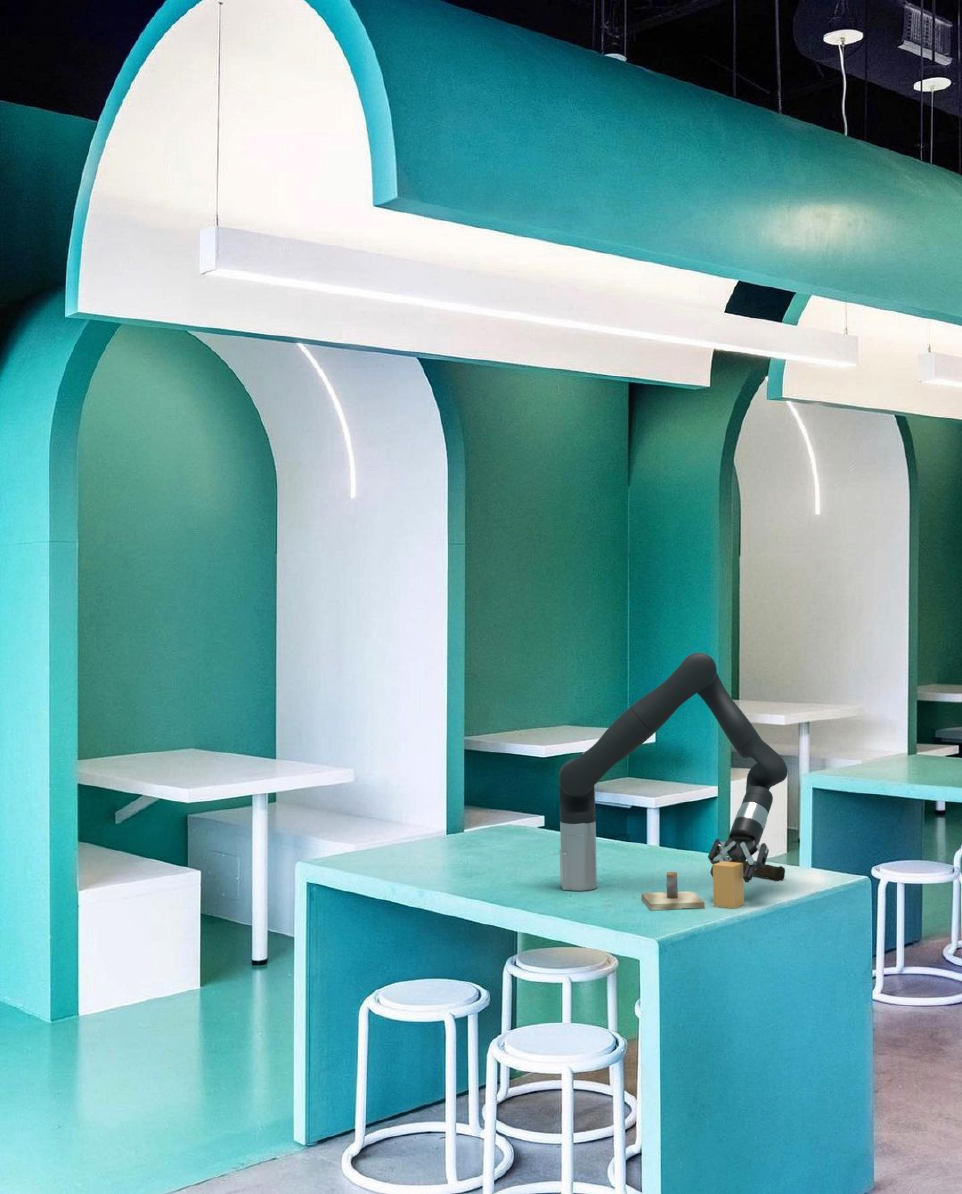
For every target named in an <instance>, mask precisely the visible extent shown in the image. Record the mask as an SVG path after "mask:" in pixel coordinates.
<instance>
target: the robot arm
mask: <svg viewBox="0 0 962 1194" xmlns="http://www.w3.org/2000/svg"><path fill="white" fill-rule="evenodd" d="M696 694H697V695H698V696H699V698H701V699H702V701H704V703H705V705H706V706H707V707H708V709H709V710H710V712H711V713H712V715H713V716H714V718H715V719H716V721H717V722H718V725H719V726H720V728H721V729H722V731H723V733H724V734H725V736H726V738H727V739H728V741H729V742H730V743H731V745H732V747H733V748H734V749H735V750H736V752H737V754H738V755H739V756H740V757H741V758H742V759H749V758H751V759H753V761H755V762H756V763H755V764H753V765H752V766H751V767H750V769H749V771H748V773H747V776H746V783H745V784H746V786H745V793H744V796H743V799H742V802H741V804H740V807H739V809H738V811H737V813H736V815H735V818H734V821H733V823H732V826H731V829H730V832H729V834H728V839H727V840H726V841H721V840H720V839H719V838H716V839H715V840H714V842H713V844H712V845H711V848H710V851H709V853H708V856H707V858H708V860H709V862H710V864H712V865H711V869H710V871H709V873H710V875H711V877H712V878H713V864H716V863H719V862H722V861H726V862H729V861H731V860H741V861H744V860H746V861H748V863H749V865H747V867H746V870H745V873H744V874H743V879H744V883H749V882H751V881H752V879H753V876H754V875H753V874H754V871H755V870H756V869H758V868H760V869H763V868H764V867H765V864H766V863H767V858H768V856H769V855H768V854H769V851H770V849H769V848H768V845H767V844H766V842H762V843H761V844H760V841H761V839H762V837H763V834H764V831H765V828H766V825H767V821H768V816H769V814H770V810H771V807H772V805H773V803H774V802H773V801H774V798H773V797H774V796H773V794H772V792H771V791H770V790H771V788H772V787H774V786H776V785H778V784H781V783H783V782H784V781H785V780H786V779H787V777H788V774H789V773H788V766H787V764H786V762H785V760H784V759H783V757H782V756H780V755H779V754H778V752H776V750H774V749H773V748H772V747H771V746H770V745H769V744H768V743H766V742H765V741H764V740H763V738H761V736H760V735H759V733H758V732H757V730H756V728H754V726H753V724H752V723H751V721H750V720H749V718H747V716H746V715H745V713H744V712H743V711H742V710H741V709H740V708H739V705H737V704H736V702H735V701H734V700H733V698H732V697H731V696H730V694H729V693H728V691H727V689H726V687H724V684H723V682H722V681H721V678H720V676H719V674H718V669H717V664H716V661H715V660H714V659H713V657H711V656H710V655H709V654H707V653H704V652H699V651H698V652H693V653H691V654H688V655H687V656H686V657H685V658H684V659H683V661H682V662H681V663H680V665H679V666H678V667H677V668H676V669H675V670H674V671H673V672H672V673H671V674H670V676H669V677H667V679H666V680H664V681H663V682H662V683H661V684H660V685H658V686H657V687H655V688H654V689H653V690H651V691H649V693H646V694H645V695H643V696H642V697H641V698H639V699H638V700H636V701H635V702H634V703H633V704H632V705H630V707H629V708H627V709H626V710H625V711H623V713H622V714H621V715H619V716H618V717H617V718H616V719H615V720H614V721H613V722H612V723H611V724H610V725H609V727H608V728H607V729H606V730H605V732H604V733H603V734H602V735H601V737H600V738H599V739H598V740H597V741H596V742H595V743H594V744H593V745H592V746H591V747H589V748H588V749H587V750H586V751H584V752H583V753H582V754H581V755H580V756H578V757H576V758H572V759H569V760H567V761H565V762H564V764H563V765H562V766H561V767H560V770H559V773H558V782H559V783H558V784H559V787H558V788H559V827H560V828H559V829H560V830H559V834H560V849H559V869H560V870H559V872H560V873H559V874H560V875H559V879H560V880H559V881H560V887H561V889H562V890H563V891H577V892H578V891H579V892H580V891H591V890H594V889H597V888H598V871H597V870H598V869H597V868H598V867H597V865H598V864H597V863H598V862H597V833H596V831H597V828H596V827H597V826H596V824H597V823H596V794H595V793H596V787H595V786H596V785H597V783H598V782H599V781H600V780H601V779H602V778H603V777H604V776H605V775H606V773H608V771H610V770H611V769H612V768H613V767H614V766H615V765H616V764H617V763H619V762H621V761H622V760H623V759H625V758H626V757H628V756H630V754H632V753H633V752H634V751H636V750H637V749H638V748H639V747H641V745H643V744H644V743H646V742H647V741H648V740H649V739H650V738H651V737H652V736H653V735H654V734H656V733H657V732H658V731H659V730H660V729H661V728H662V727H663V726H664V725H665V723H666V722H668V720H669V719H670V718H671V717H672V716H673V714H675V712H676V711H677V710H678V709H679V708H680V707H681V706H682V705H683V704H684V703H686V701H688V700H689V699H691V698H692V697H693V696H695V695H696ZM757 852H758V853H757ZM756 853H757V858H756V860H755V861H754V858H753V855H755V854H756ZM727 854H728V855H727Z"/></svg>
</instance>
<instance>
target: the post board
mask: <svg viewBox="0 0 962 1194" xmlns="http://www.w3.org/2000/svg"><path fill="white" fill-rule="evenodd" d="M665 876H666V891H662V892H641V900H642V901H643V903H644V904H645V906H647V908H648V909H649V910H650V911H668V910H667V909H677V910H682V909H681V908H704V909H705V908H706V907H705V904H706V903H705V901H704V900H703V899H702V898H701V897H700V896H699V895H698V894H697V893H696V892H694V890H693V891H692V890H691V891H689V890H688V891H678V889H679V888H678V872H676V871H669V872H666V875H665ZM679 908H680V909H679Z"/></svg>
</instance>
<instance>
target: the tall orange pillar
mask: <svg viewBox="0 0 962 1194" xmlns="http://www.w3.org/2000/svg"><path fill="white" fill-rule="evenodd" d="M712 865H713V877H712V886H713V887H712V890H713V891H712V893H713V907H716V906H721V907H720V908H725V907H727V908H728V909H733V908H734V909H737V908H739V907H741V905H742V906H743V904H744V905H745V887H744V885H745V881H744V879H743V876H744V874H743V863H736V862H726V861H722V862H719V863H716V864H712ZM736 907H737V908H736Z"/></svg>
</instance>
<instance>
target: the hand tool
mask: <svg viewBox="0 0 962 1194" xmlns="http://www.w3.org/2000/svg"><path fill="white" fill-rule="evenodd" d="M729 862H736V863H743V875H744V873H745V870H746V867H747V865H749V863H748V860H744V861H741V860H731V861H729ZM753 876H756V877H761V878H767V879H770V880H775V882H780V881H779V880H781V881H784V879H785V876H786V869H785V867H783V865H779V866H775V865H770V864H766V863H765V867H764V868H763V869H760V868H758V869H756V870H755V871H754V874H753Z"/></svg>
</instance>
